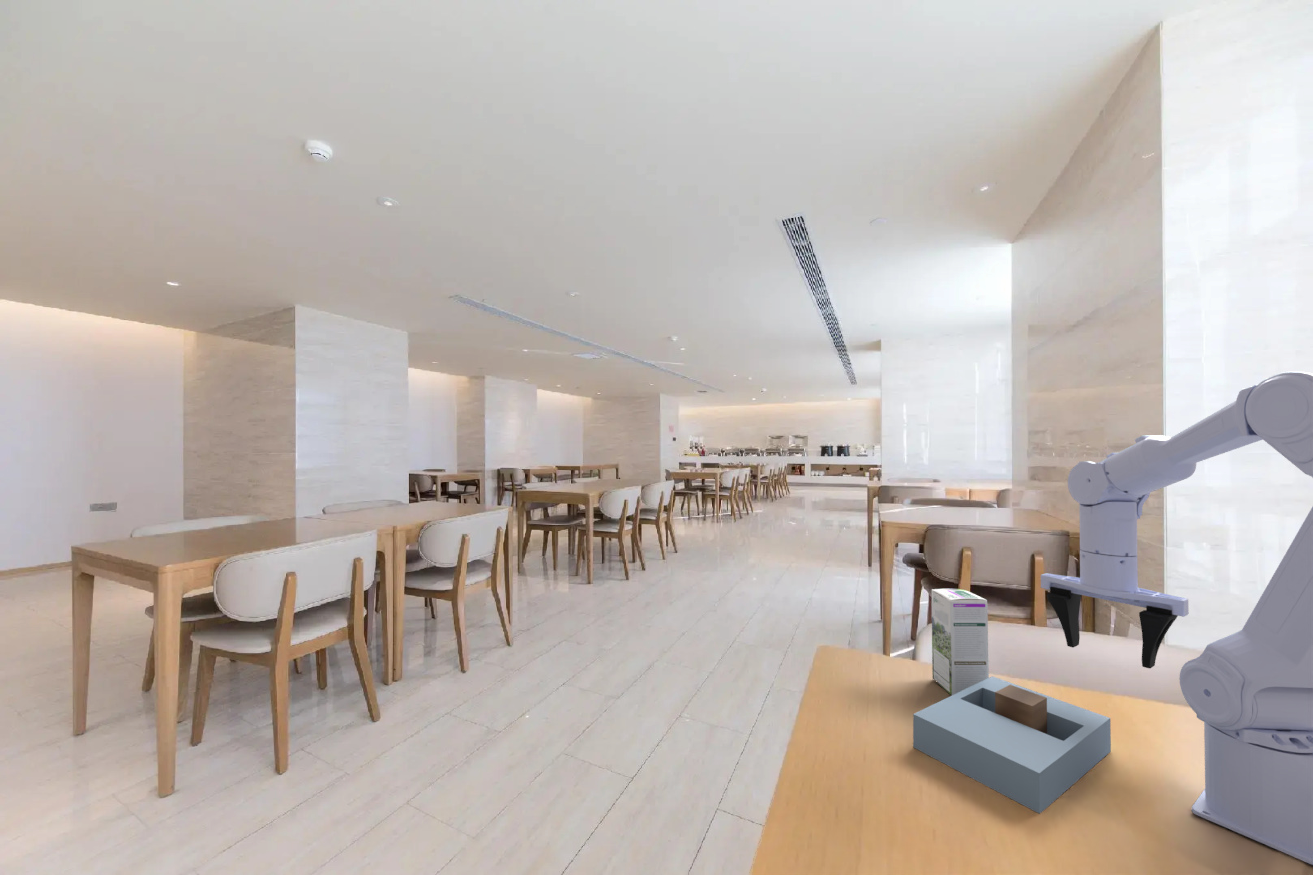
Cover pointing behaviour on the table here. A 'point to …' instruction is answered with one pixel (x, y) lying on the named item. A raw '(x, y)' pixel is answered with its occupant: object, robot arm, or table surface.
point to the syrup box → (959, 639)
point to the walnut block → (1022, 707)
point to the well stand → (1012, 743)
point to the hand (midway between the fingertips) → (1108, 655)
